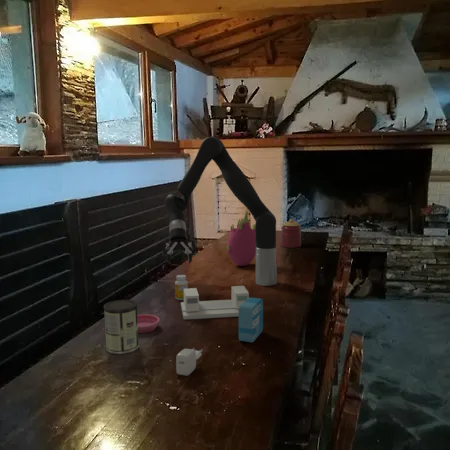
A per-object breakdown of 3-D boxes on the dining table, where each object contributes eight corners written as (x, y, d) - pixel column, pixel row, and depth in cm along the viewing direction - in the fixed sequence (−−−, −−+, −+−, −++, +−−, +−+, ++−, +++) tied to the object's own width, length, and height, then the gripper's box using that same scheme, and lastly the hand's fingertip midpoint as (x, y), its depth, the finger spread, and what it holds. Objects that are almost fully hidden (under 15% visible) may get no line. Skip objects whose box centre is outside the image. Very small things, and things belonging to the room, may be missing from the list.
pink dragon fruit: (253, 261, 268) (253, 208, 264) (262, 267, 256) (262, 210, 251) (222, 264, 263) (222, 209, 258) (230, 270, 250) (230, 212, 246)
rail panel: (244, 302, 197) (244, 283, 196) (253, 315, 181) (253, 295, 180) (180, 305, 193) (180, 286, 192) (183, 319, 178) (183, 298, 176)
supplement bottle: (175, 296, 205) (174, 274, 204) (188, 296, 206) (187, 274, 204) (175, 300, 200) (174, 277, 199) (188, 300, 201) (187, 277, 199)
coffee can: (116, 339, 159) (115, 298, 157) (144, 343, 156) (143, 301, 154) (98, 351, 150) (96, 307, 148) (128, 356, 146) (126, 311, 144)
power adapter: (191, 358, 144) (190, 340, 143) (206, 361, 143) (205, 342, 142) (173, 374, 134) (173, 354, 133) (189, 377, 132) (189, 357, 131)
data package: (251, 344, 155) (251, 308, 153) (238, 342, 157) (238, 306, 155) (263, 331, 166) (263, 297, 164) (250, 329, 168) (250, 296, 166)
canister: (281, 243, 319) (281, 217, 316) (300, 244, 317) (301, 217, 314) (280, 247, 306) (280, 220, 303) (301, 248, 304) (301, 220, 301)
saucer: (125, 337, 162) (125, 328, 161) (122, 324, 174) (122, 315, 173) (162, 333, 165) (162, 324, 165) (157, 320, 177) (157, 312, 176)
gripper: (161, 227, 213) (163, 258, 203) (194, 226, 215) (196, 257, 206) (161, 237, 219) (163, 268, 209) (193, 236, 221) (195, 266, 212)
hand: (179, 262), depth 208 cm, fingers open, 8 cm apart
